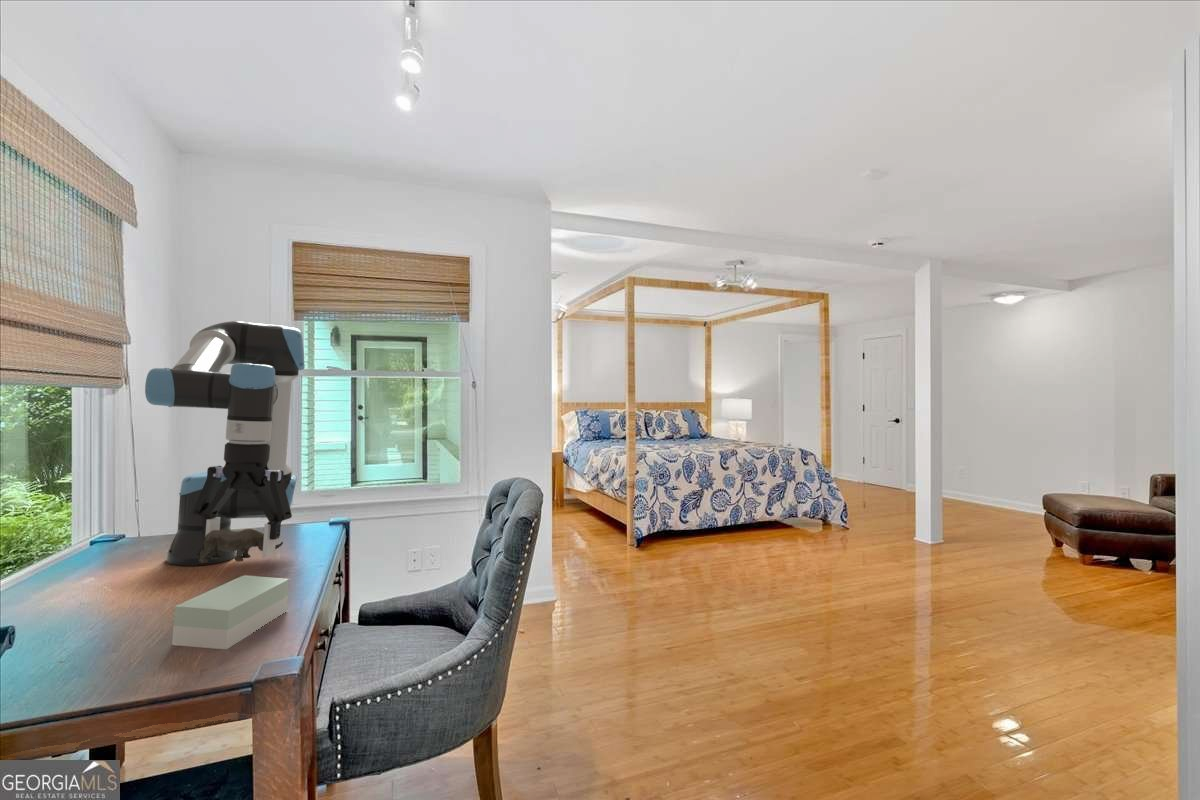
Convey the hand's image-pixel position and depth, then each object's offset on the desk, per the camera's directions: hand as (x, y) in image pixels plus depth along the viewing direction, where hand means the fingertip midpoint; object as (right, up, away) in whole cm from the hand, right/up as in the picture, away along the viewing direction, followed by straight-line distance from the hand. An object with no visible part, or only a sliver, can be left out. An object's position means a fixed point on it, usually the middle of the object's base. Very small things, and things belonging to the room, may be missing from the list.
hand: (239, 553), depth 106 cm
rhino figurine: (0, -1, 0) cm, 1 cm away
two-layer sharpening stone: (-1, -14, 0) cm, 14 cm away
